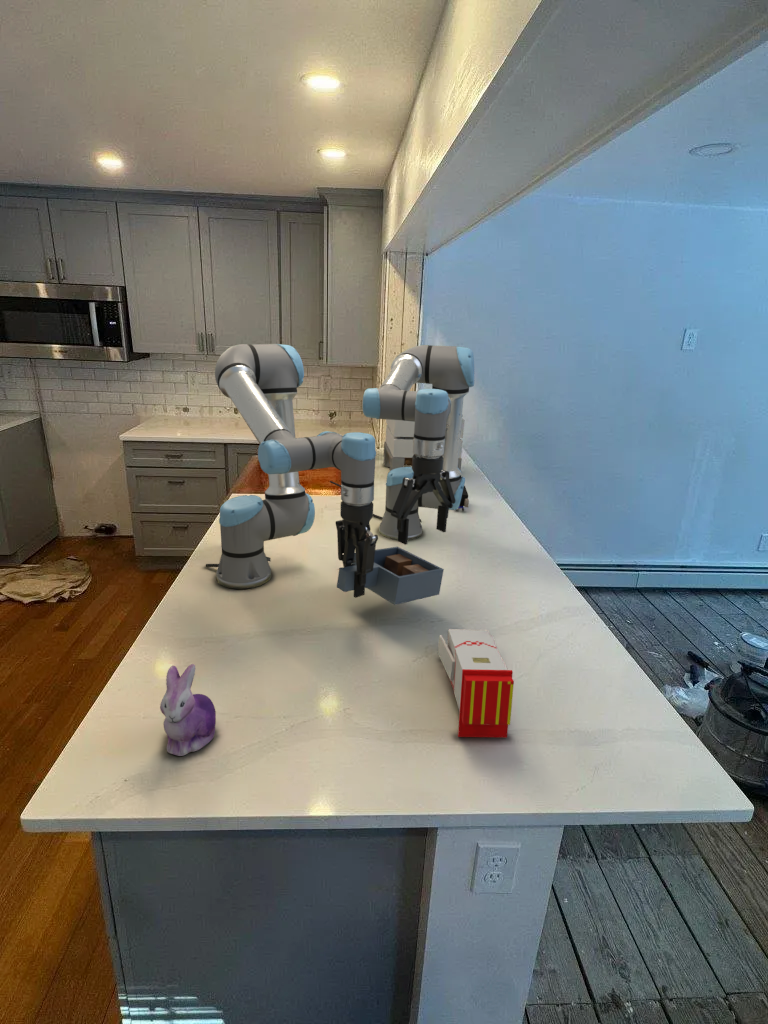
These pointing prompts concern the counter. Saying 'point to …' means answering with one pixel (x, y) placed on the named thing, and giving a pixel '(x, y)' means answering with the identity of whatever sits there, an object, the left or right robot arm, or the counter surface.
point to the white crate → (404, 443)
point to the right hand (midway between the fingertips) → (422, 536)
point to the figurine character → (464, 499)
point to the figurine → (186, 714)
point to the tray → (395, 578)
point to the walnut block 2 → (412, 569)
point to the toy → (478, 682)
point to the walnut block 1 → (396, 563)
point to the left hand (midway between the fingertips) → (354, 592)
